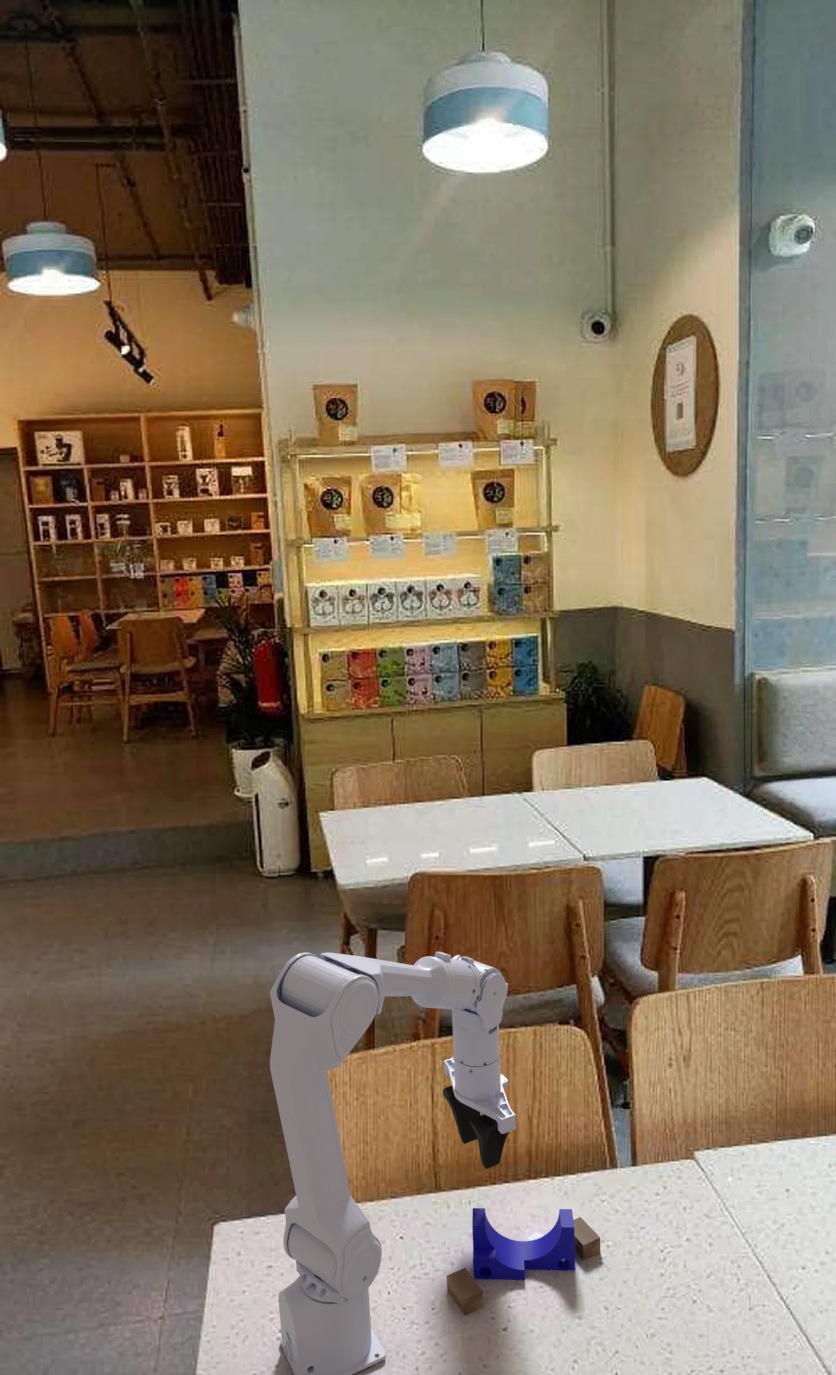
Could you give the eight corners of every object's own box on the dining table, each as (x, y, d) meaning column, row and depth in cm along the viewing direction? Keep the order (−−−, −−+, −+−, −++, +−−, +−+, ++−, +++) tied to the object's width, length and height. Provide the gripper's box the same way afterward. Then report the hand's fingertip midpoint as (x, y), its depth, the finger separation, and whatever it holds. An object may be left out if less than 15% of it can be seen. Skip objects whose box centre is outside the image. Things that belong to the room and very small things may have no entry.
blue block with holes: (473, 1280, 112) (472, 1235, 111) (474, 1251, 117) (472, 1208, 116) (576, 1282, 111) (575, 1236, 110) (572, 1252, 116) (571, 1209, 115)
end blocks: (464, 1315, 107) (463, 1300, 107) (447, 1290, 111) (446, 1275, 110) (600, 1251, 115) (600, 1237, 115) (580, 1230, 119) (580, 1216, 119)
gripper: (536, 1073, 113) (538, 1175, 115) (475, 1019, 126) (478, 1111, 128) (485, 1091, 110) (489, 1195, 112) (428, 1033, 123) (432, 1128, 125)
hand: (480, 1152), depth 120 cm, fingers open, 5 cm apart
